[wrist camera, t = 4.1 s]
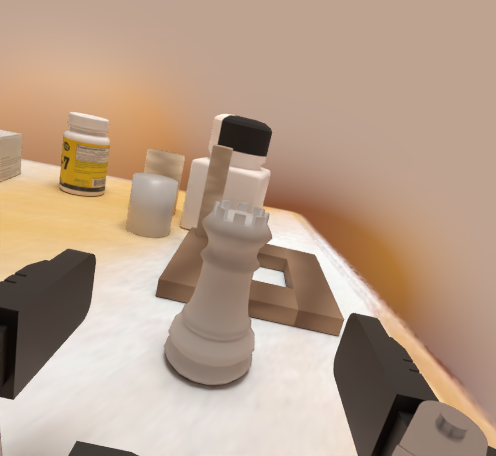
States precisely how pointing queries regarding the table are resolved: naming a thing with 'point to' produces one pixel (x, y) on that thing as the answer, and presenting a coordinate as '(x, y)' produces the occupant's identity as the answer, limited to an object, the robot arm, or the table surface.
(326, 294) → the hole board
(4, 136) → the small box
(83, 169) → the supplement bottle
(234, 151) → the medicine bottle
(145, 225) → the short grey peg
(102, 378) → the table surface
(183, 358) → the rook chess piece
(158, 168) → the medium beech peg
